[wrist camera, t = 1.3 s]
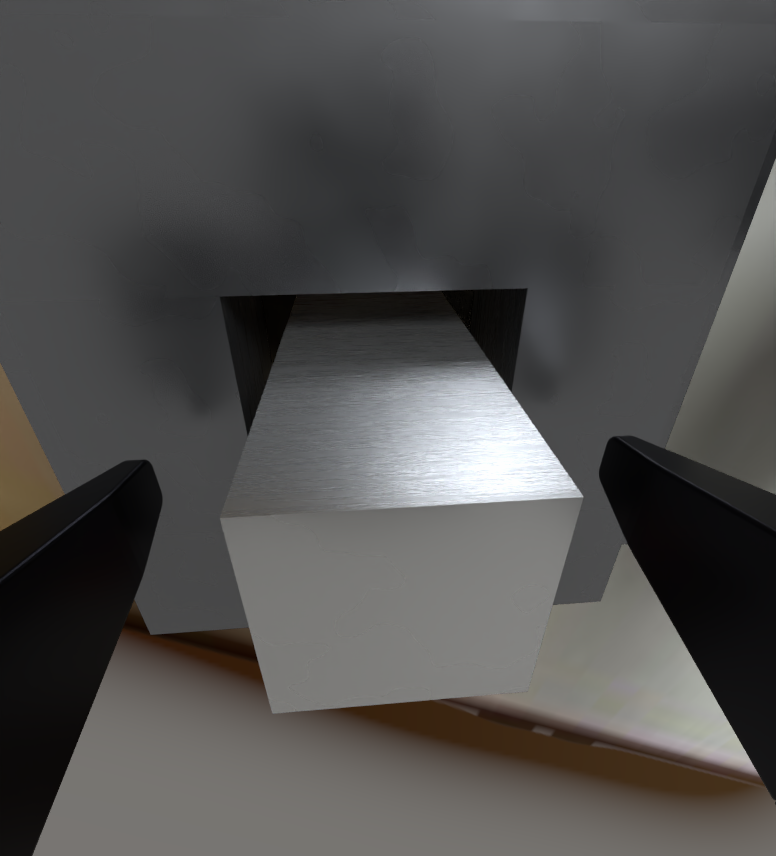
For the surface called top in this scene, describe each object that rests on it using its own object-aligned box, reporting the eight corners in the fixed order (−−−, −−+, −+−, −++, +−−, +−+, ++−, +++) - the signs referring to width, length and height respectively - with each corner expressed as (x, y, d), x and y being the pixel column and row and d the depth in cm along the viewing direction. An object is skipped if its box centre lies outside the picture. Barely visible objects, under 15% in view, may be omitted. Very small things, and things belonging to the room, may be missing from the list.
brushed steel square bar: (440, 289, 13) (583, 497, 5) (432, 425, 15) (522, 708, 7) (297, 293, 12) (219, 518, 5) (312, 431, 15) (276, 730, 7)
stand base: (803, 11, 10) (1205, -115, 5) (617, 529, 19) (712, 659, 14) (-146, -4, 9) (-717, -187, 4) (115, 561, 17) (27, 717, 12)
